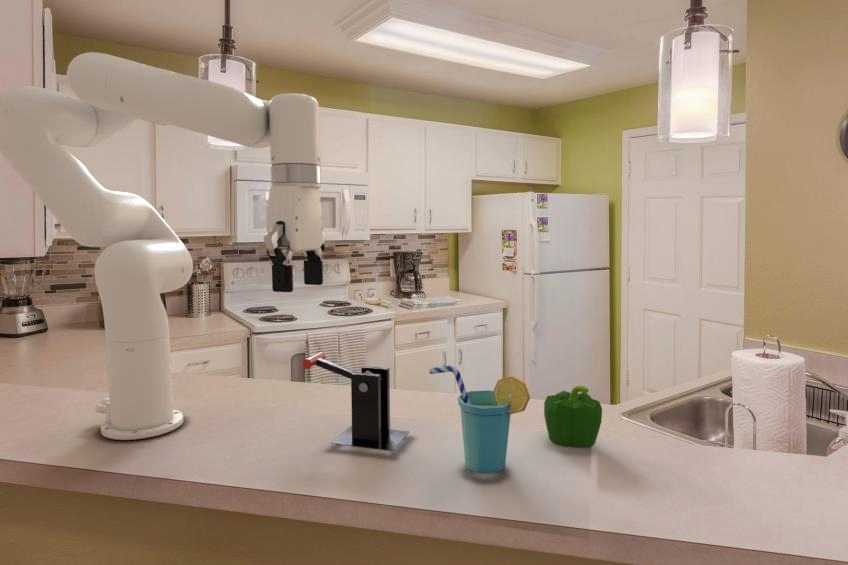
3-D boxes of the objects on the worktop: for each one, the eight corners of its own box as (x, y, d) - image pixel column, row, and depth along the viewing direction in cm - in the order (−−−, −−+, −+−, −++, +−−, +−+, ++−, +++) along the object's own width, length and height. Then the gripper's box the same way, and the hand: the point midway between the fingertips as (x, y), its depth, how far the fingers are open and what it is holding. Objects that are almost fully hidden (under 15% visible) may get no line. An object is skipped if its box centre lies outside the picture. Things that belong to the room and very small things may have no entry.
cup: (423, 479, 78) (422, 371, 76) (435, 456, 85) (435, 357, 84) (527, 490, 74) (529, 377, 73) (530, 465, 82) (532, 362, 80)
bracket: (331, 450, 87) (329, 375, 86) (352, 432, 95) (351, 362, 94) (392, 458, 84) (392, 380, 83) (409, 438, 92) (409, 366, 91)
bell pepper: (535, 438, 92) (536, 377, 91) (582, 434, 94) (584, 374, 93) (558, 459, 84) (560, 393, 83) (609, 455, 85) (612, 389, 84)
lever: (300, 369, 89) (304, 355, 89) (315, 361, 94) (319, 348, 93) (370, 397, 86) (374, 382, 86) (382, 387, 91) (386, 374, 90)
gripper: (301, 182, 98) (304, 281, 100) (242, 174, 81) (246, 294, 83) (342, 181, 96) (343, 283, 98) (289, 173, 79) (292, 295, 81)
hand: (299, 287), depth 90 cm, fingers open, 9 cm apart
